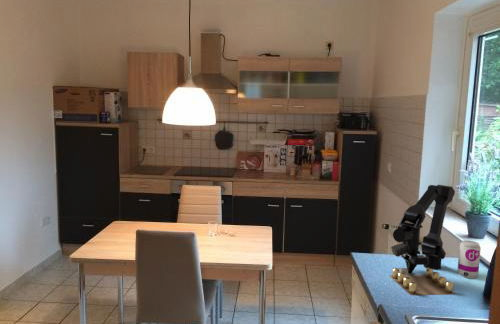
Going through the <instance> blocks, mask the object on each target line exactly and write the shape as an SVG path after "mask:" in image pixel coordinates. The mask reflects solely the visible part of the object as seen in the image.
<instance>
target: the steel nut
mask: <svg viewBox="0 0 500 324" xmlns="http://www.w3.org/2000/svg"><path fill="white" fill-rule="evenodd" d="M398 269H399V272H402V273H404V274H405V275H413V272H412V273H411V274H409V273H408V270H407V267H400V268H398Z"/></svg>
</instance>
